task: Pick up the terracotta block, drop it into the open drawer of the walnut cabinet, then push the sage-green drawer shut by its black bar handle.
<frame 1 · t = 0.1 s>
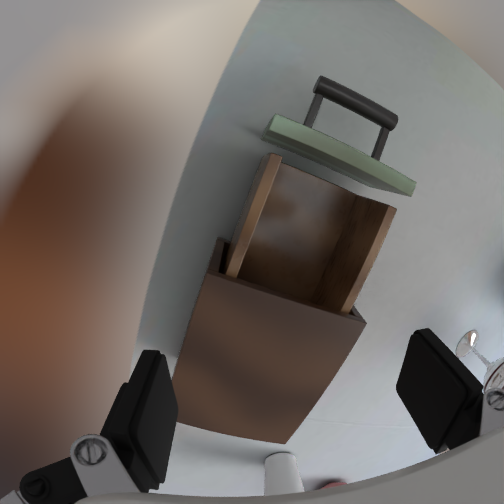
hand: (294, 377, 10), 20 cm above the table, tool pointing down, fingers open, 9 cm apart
cabinet: (250, 322, 31), on the table
perfume bottle: (331, 483, 44), on the table
drinking glass: (279, 458, 40), on the table
drawer: (315, 204, 23), point 5 cm above the table, slide at 10.0 cm
wineglass: (466, 343, 35), on the table
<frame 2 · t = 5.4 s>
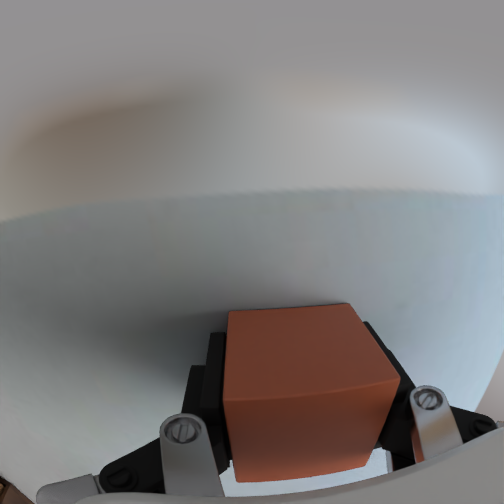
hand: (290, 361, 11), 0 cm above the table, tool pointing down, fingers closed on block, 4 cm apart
block: (289, 356, 11), on the table, touching gripper
cabinet: (14, 495, 21), on the table
when the fingers open (8 cm above the table, at t = 14.4 s): block drops 6 cm, resting on drawer.
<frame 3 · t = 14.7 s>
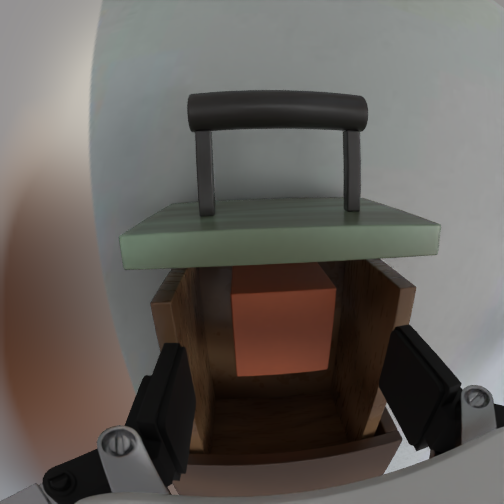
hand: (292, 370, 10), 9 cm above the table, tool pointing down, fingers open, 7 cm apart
block: (274, 294, 17), point 2 cm above the table, touching drawer
cabinet: (270, 421, 23), on the table
drawer: (279, 306, 14), point 5 cm above the table, slide at 10.0 cm, touching block
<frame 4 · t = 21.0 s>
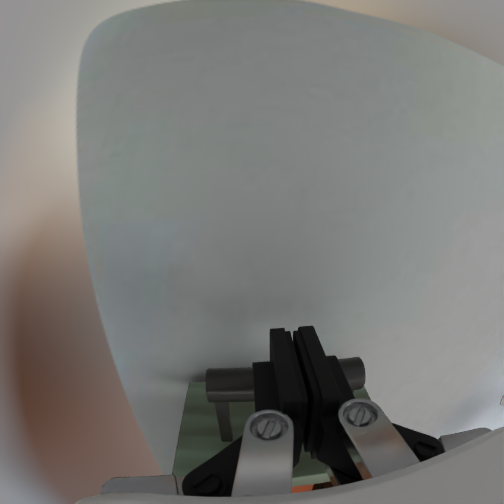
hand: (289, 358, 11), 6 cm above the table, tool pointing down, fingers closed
drawer: (278, 462, 16), point 5 cm above the table, slide at 9.2 cm, touching block, gripper
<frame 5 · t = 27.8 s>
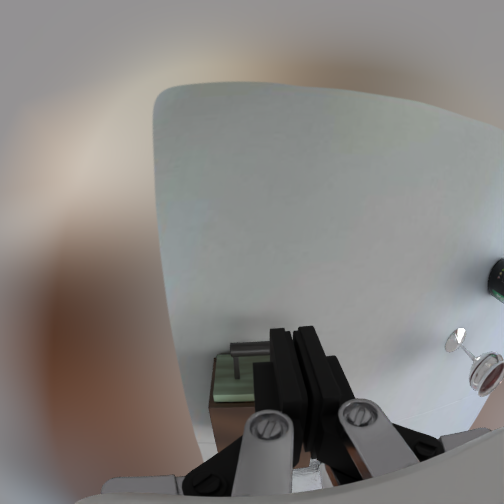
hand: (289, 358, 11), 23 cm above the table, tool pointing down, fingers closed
cabinet: (261, 395, 40), on the table
drinking glass: (330, 462, 48), on the table
supplement bottle: (497, 276, 37), on the table
drawer: (263, 398, 35), point 5 cm above the table, slide at 0.0 cm, touching block
wineglass: (455, 340, 40), on the table
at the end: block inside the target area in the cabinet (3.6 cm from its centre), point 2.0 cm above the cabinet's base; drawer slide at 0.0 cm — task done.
